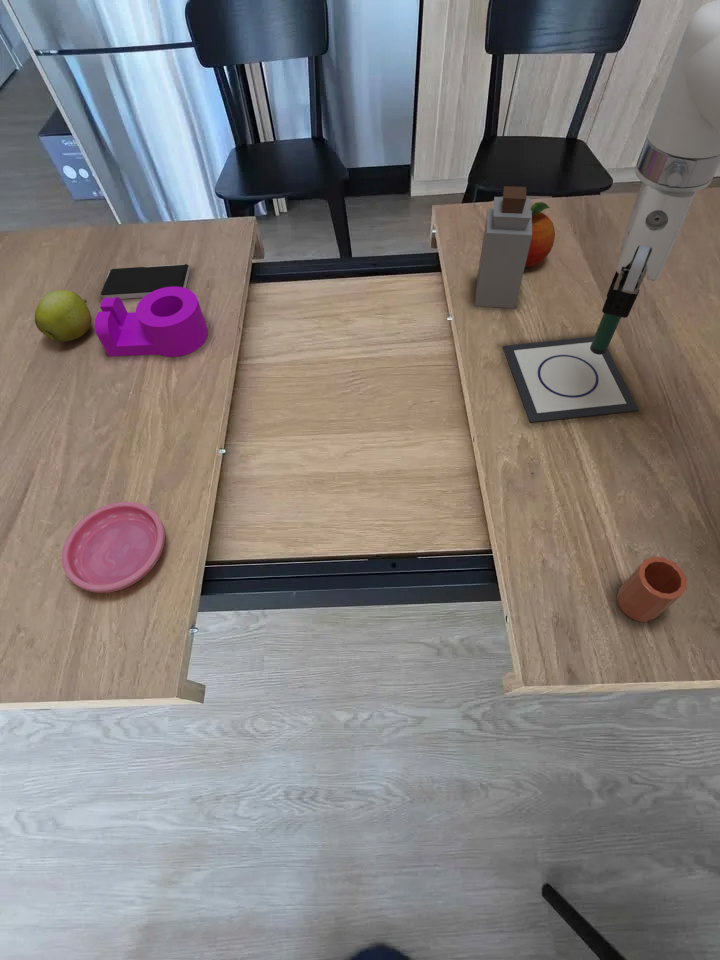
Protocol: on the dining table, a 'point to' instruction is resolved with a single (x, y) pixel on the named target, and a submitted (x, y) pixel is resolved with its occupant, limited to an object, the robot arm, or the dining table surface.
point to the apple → (62, 316)
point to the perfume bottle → (504, 249)
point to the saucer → (113, 547)
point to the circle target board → (567, 380)
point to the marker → (605, 332)
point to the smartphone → (143, 280)
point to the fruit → (540, 235)
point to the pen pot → (651, 589)
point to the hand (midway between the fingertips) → (617, 305)
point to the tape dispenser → (153, 324)
